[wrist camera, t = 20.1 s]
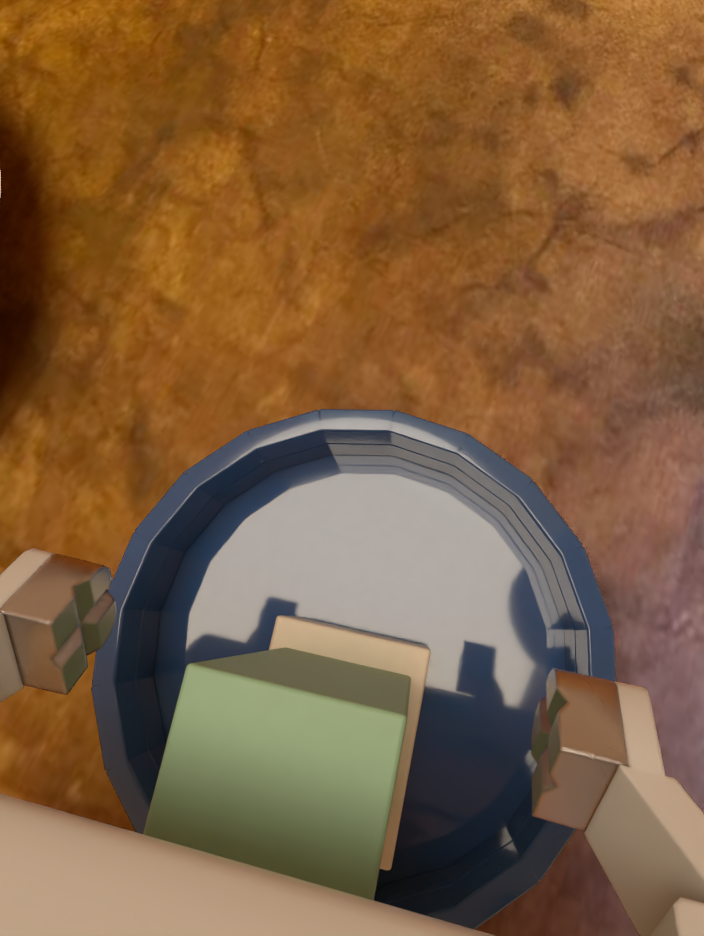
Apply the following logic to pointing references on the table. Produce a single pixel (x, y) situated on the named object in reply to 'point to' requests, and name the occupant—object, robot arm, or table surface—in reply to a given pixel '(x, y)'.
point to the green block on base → (295, 754)
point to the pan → (370, 623)
